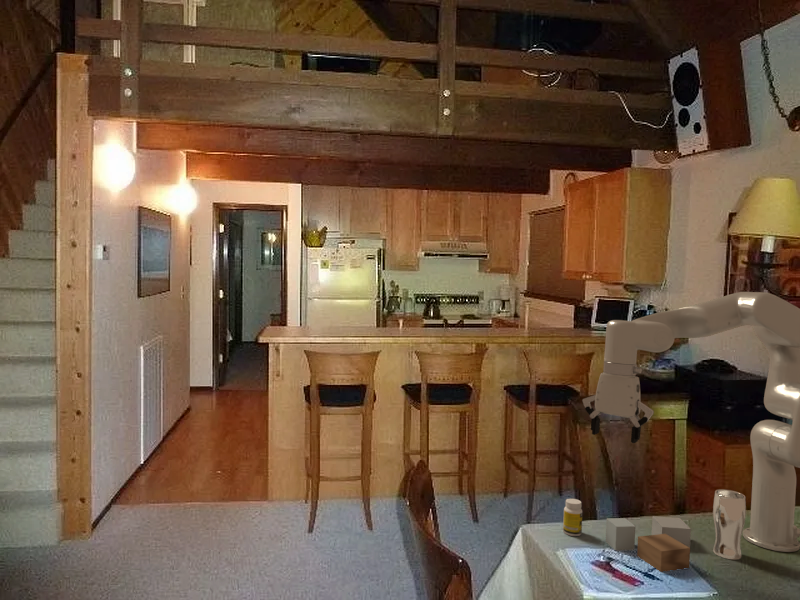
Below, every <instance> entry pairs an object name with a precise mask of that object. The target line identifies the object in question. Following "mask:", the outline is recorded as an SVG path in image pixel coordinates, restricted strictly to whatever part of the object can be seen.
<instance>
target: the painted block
mask: <svg viewBox="0 0 800 600" xmlns="http://www.w3.org/2000/svg"><path fill="white" fill-rule="evenodd" d="M635 539H636V526H635V524H633V523H632V522H631V521H629V520H628V519H627V518H625V517H623V518H622V517H620V518H619V517H615V518H610V517H609V518H606V524H605V543H607V544H608V545H609V546H610V547H611V548H612V549H613V550H614V551H615V550H616V551H634V550H635V544H636V543H635V542H636V540H635Z"/></svg>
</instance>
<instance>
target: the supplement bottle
mask: <svg viewBox="0 0 800 600" xmlns="http://www.w3.org/2000/svg"><path fill="white" fill-rule="evenodd" d="M582 529H583V509H582V501H581V500H579V499H577V498H566V499H565V506H564V508H563V525H562V532H563V534H565V535H568V536H571V537H580V536H582Z"/></svg>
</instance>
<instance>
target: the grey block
mask: <svg viewBox="0 0 800 600" xmlns="http://www.w3.org/2000/svg"><path fill="white" fill-rule="evenodd" d="M651 519H652V520H651V535H658V534H667V535H669V536H670V537H672V538H674V539H675V540H677V541H679V542H681V543H682V544H684V545H686V546H687V547H689V548H690V549H691V534H692V533H691V532H692V529H691V527H690V526H689V525H688V524H686V522H685V521H684V520H682V519H681V517H673V516H672V517H671V516H657V515H656V516H655V515H652V518H651Z"/></svg>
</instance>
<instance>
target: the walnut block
mask: <svg viewBox="0 0 800 600" xmlns="http://www.w3.org/2000/svg"><path fill="white" fill-rule="evenodd" d="M636 555H637V556H636V557H638V558H639V559H640V560H642V561H643V562H645V563H647V564H648V565H649V564H650V566H651V567H652V566H653V568H654V569H655V568H656V569H655V570H657V571H658V570H659V571H658V572H660V573H664V572H663V571H665V572H671V571H670V570H673V571H678V570H677V569H681V570H685V569H684V568H689V569H690V563H691V562H690V559H691V557H690V555H691V547H690V548H689V547H687V546H686V545H684V544H682V543H681V542H679V541H677V540H675V539H674V538H672V537H670V536H669V535H667V534H658V535H652V534H650V535H648V534H647V535H640V536H637V552H636Z"/></svg>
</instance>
